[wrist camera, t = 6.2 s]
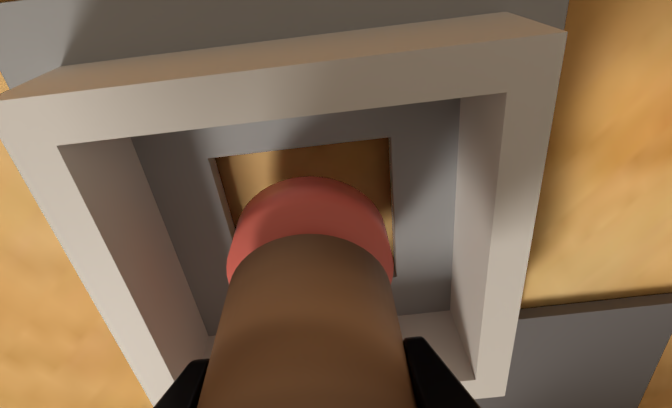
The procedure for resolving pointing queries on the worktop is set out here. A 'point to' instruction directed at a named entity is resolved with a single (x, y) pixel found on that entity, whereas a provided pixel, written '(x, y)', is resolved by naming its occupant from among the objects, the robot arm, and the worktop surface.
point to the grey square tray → (278, 134)
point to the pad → (586, 354)
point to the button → (310, 218)
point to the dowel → (308, 331)
